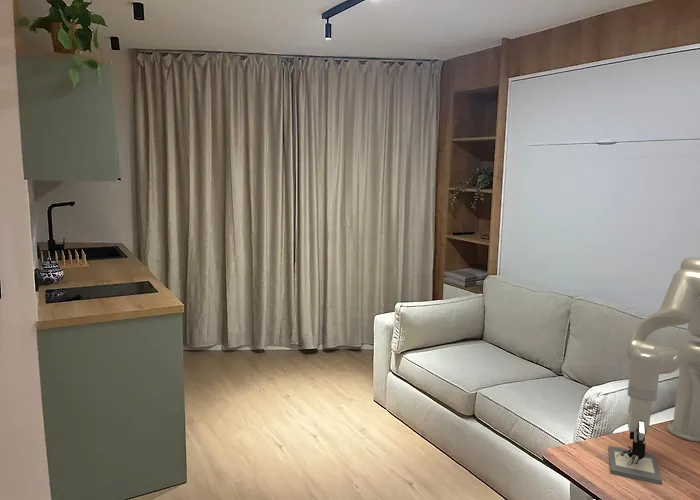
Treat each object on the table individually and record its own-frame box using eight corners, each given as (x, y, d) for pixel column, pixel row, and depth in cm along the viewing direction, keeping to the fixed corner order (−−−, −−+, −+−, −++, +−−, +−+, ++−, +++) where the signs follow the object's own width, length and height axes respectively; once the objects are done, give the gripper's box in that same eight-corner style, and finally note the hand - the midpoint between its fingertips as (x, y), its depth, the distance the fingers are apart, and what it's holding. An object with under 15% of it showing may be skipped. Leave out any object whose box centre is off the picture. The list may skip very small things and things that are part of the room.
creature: (620, 469, 164) (650, 467, 162) (617, 451, 164) (647, 449, 162) (614, 456, 172) (642, 454, 170) (611, 439, 172) (640, 437, 170)
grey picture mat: (608, 449, 177) (608, 445, 177) (655, 458, 172) (655, 454, 172) (610, 473, 162) (610, 469, 162) (661, 484, 157) (662, 480, 157)
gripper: (626, 379, 173) (620, 432, 176) (630, 401, 157) (624, 458, 160) (653, 383, 170) (647, 436, 173) (660, 405, 155) (654, 464, 157)
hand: (636, 447), depth 167 cm, fingers open, 9 cm apart
